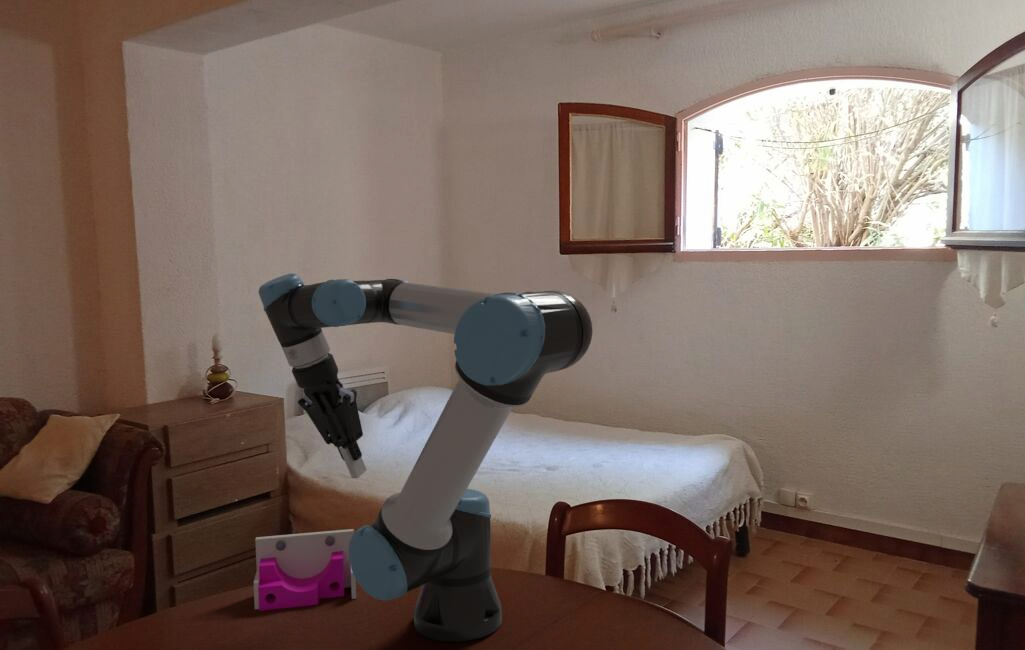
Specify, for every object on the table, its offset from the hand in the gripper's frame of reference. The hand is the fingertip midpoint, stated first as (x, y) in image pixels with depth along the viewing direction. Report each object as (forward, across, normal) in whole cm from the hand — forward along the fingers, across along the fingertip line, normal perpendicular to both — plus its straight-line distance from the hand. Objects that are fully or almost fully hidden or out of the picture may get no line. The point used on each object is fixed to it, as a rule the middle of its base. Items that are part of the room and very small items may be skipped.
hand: (359, 474), depth 145 cm
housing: (+19, -12, -13) cm, 25 cm away
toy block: (+19, -12, -14) cm, 26 cm away
